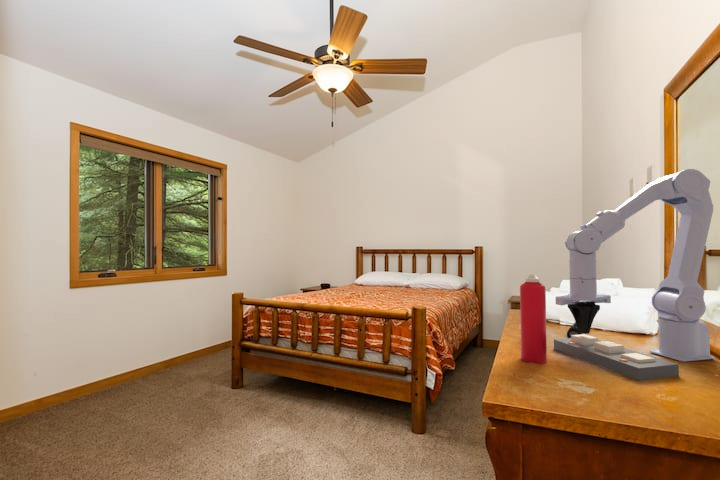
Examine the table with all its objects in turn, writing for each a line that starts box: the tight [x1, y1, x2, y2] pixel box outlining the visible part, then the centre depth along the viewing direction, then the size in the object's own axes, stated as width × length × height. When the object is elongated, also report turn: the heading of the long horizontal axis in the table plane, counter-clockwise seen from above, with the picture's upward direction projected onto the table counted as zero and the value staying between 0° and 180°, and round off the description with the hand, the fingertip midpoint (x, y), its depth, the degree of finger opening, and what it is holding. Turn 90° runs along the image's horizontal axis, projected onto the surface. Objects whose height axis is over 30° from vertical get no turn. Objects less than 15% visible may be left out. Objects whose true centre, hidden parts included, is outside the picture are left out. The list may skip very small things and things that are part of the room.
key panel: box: [553, 337, 680, 382], centre depth 85 cm, size 10×23×3 cm, turn 12°
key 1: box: [571, 333, 599, 346], centre depth 92 cm, size 4×4×3 cm
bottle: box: [519, 274, 548, 365], centre depth 86 cm, size 6×5×20 cm
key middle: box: [594, 340, 625, 354], centre depth 85 cm, size 4×4×3 cm
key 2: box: [621, 353, 655, 364], centre depth 78 cm, size 4×4×3 cm
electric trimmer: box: [566, 322, 582, 338], centre depth 112 cm, size 4×16×3 cm, turn 144°
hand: (583, 332), depth 92 cm, fingers closed
